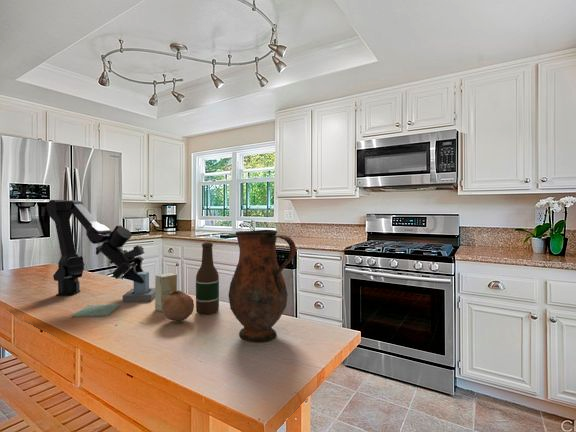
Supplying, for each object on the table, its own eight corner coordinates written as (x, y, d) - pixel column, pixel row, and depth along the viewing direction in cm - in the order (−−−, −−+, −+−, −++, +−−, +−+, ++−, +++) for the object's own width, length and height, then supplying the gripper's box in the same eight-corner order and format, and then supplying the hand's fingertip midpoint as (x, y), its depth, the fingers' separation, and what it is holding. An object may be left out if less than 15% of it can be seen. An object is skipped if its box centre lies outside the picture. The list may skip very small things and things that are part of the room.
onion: (160, 328, 95) (160, 295, 95) (164, 318, 105) (163, 287, 104) (193, 325, 98) (193, 293, 98) (194, 315, 107) (194, 286, 107)
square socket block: (122, 302, 121) (122, 295, 121) (132, 294, 132) (132, 288, 132) (151, 301, 123) (151, 294, 123) (158, 293, 133) (158, 287, 133)
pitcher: (255, 320, 103) (255, 227, 102) (310, 336, 90) (311, 230, 89) (215, 337, 90) (214, 230, 89) (273, 359, 77) (274, 235, 76)
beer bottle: (191, 312, 110) (190, 243, 109) (206, 306, 117) (206, 241, 116) (208, 316, 106) (208, 244, 105) (223, 310, 113) (223, 242, 112)
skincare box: (161, 312, 110) (161, 277, 110) (154, 309, 113) (154, 275, 113) (177, 307, 115) (177, 273, 115) (170, 305, 118) (170, 272, 118)
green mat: (72, 317, 105) (72, 315, 105) (88, 306, 116) (88, 305, 116) (107, 315, 106) (107, 314, 106) (120, 305, 117) (120, 304, 117)
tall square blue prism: (133, 299, 125) (133, 274, 124) (137, 296, 129) (137, 271, 129) (145, 299, 125) (145, 274, 125) (149, 296, 130) (148, 271, 130)
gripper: (121, 242, 117) (153, 271, 119) (138, 237, 135) (165, 262, 137) (98, 264, 116) (131, 293, 118) (118, 256, 134) (146, 281, 136)
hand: (145, 281), depth 127 cm, fingers closed on tall square blue prism, 4 cm apart
